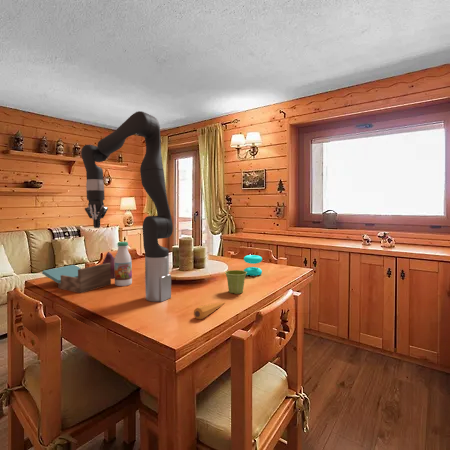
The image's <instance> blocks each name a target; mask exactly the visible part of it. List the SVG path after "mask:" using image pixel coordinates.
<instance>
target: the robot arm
mask: <svg viewBox="0 0 450 450" xmlns="http://www.w3.org/2000/svg"><path fill="white" fill-rule="evenodd" d="M135 135H138V136H140V137H143V138H144V142H145V154H144V157H143V159H142V162H141V163H140V167H139V169H140V170H139V172H140V179H141V185H142V187H143V189H144V191H145V192H146V194H147V195H148V197H149V198H150V199H151V201H152V202H153V204H154V207H155V209H156V210H155V211H156V214H157V215H148V216H146V217H144V219H143V222H142V239H143V240H142V241H143V250H144V255H145V256H144V270H145V271H144V273H145V277H144V279H145V300H146V301H148V302H165V301H166V300H168V299H171V298H172V275H171V274H170V265H169V264H170V261H169V260H170V257H169V256H170V254H169V253H170V252H169V248H168V247H165V246H162V245H160V244H159V241H158V240H160V239H168V238H170V237H172V235H173V233H174V232H173V230H174V225H173V219H172V215H171V210H170V206H169V201H168V195H167V194H168V193H167V189H166V180H165V171H164V167H163V166H164V165H163V157H162V147H161V125H160V122H159V119H158V118H157V117H155V116H153V115H151V114H149V113H147V112H144V111H139V110H138V111H136V112H134V113H132V114H131V115H129V117H128V118H127V119H126V120H124V122H123V123H122V124H120V126H118V128H117V129H115V130H114V131H112V132H111V133H109V134H108V135H106V136H105V137H103V138H101V139H100V140H99V141H97V145H91V144H85V145H83V147H82V148H81V151H80V152H81V153H80V154H81V160H82V162H83V165H84V169H85V171H86V172H85V173H86V175H85V176H86V182H85V183H86V184H85V187H86V189H85V190H86V192H85V193H86V200H87V201H88V203H87V207H85V208H84V211H85V212H86V214H87V215H88V216H87V217H89V219H91V220H92V221H93V222H92V223H93V228H94V229H100V228H101V220H102V219H104V218H105V216H106V214H107V211H108V209H109V208H108V207H107V206H105V203H104V200H106V199H105V182H104V171H103V168H102V167H100V166H98V165H97V163H103V162H105V161H106V160H107V159H108V158H109V157H110V155H112V154H113V153H115V152H117V151H118V150H121V148H123V146H124V144H125V142H126V140H127V138H129V137H131V136H135Z"/></svg>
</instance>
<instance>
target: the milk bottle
mask: <svg viewBox="0 0 450 450" xmlns="http://www.w3.org/2000/svg"><path fill="white" fill-rule="evenodd" d="M128 248H129V241H119V242H117V251H116V254H115V257H114V258H115V262H114V271H115V278H114V285H115V286H118V287H125V286H130V285H132V283H133V271H132V270H133V267H132V264H133V263H132V256H131V254H130V253H129V249H128Z"/></svg>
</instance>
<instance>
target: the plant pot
mask: <svg viewBox="0 0 450 450" xmlns="http://www.w3.org/2000/svg"><path fill="white" fill-rule="evenodd" d="M224 274H225V276H226V281H227V286H228V292H229V293H230V294H234V295H237V294H241V293H243V292H244V286H245V280H246V279H245V278H246V276H247V275H246V274H247V272H245V271H244V270H237V269H235V270H234V269H231V270H227V271H225V272H224Z"/></svg>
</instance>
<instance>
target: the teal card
mask: <svg viewBox="0 0 450 450" xmlns="http://www.w3.org/2000/svg"><path fill="white" fill-rule="evenodd" d="M78 269H82V268H81V267H79V266H77V265H76V264H71V265H65V266H60V267H55V268H50V269H45V270H42V273H41V274H42V275H43V276H45V277H47V278H48V279H50V280H52V282H55V283H57V284H60V283H61V275H65V276H70V277H76V278H78Z"/></svg>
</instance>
